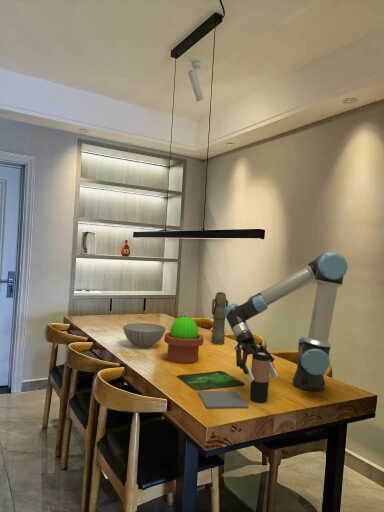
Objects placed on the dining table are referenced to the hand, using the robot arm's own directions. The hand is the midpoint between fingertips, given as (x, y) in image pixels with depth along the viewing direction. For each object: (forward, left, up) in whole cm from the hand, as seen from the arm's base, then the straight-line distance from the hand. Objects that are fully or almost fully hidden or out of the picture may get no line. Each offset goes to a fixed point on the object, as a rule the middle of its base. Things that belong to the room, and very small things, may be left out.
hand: (264, 379), depth 161 cm
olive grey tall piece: (-9, -105, -10) cm, 106 cm away
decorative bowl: (+43, -93, -10) cm, 103 cm away
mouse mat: (+16, -27, -10) cm, 33 cm away
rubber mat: (+17, -2, -9) cm, 19 cm away
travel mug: (+1, -2, -10) cm, 10 cm away
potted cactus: (+23, -63, -10) cm, 68 cm away
